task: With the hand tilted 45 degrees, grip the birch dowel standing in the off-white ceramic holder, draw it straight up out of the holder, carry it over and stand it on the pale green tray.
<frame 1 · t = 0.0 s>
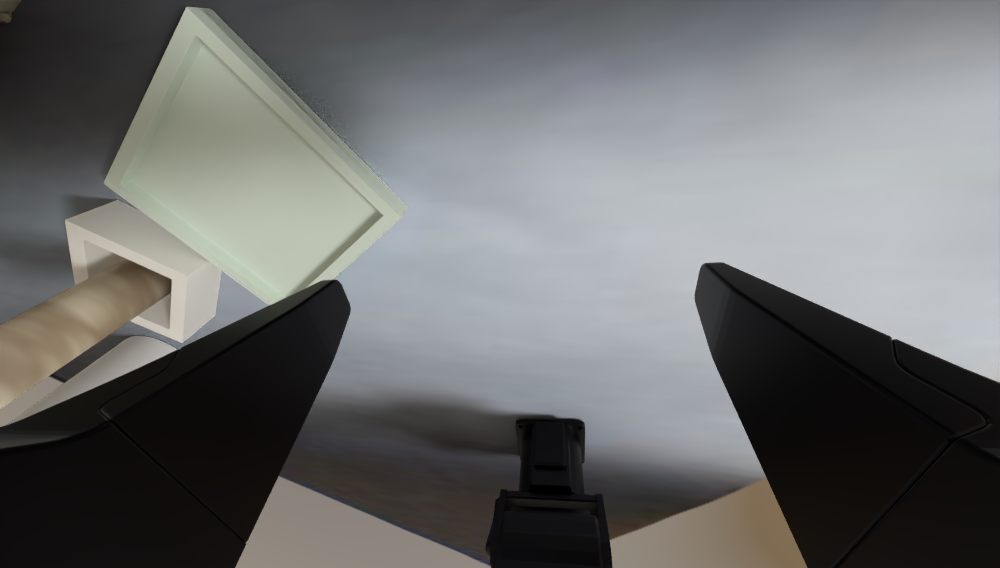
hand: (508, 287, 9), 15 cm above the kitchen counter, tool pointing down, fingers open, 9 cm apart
holder: (171, 263, 29), on the kitchen counter
tray: (265, 191, 25), on the kitchen counter
dowel: (164, 267, 29), point 1 cm above the kitchen counter, touching holder
cylindrical container: (162, 361, 37), on the kitchen counter
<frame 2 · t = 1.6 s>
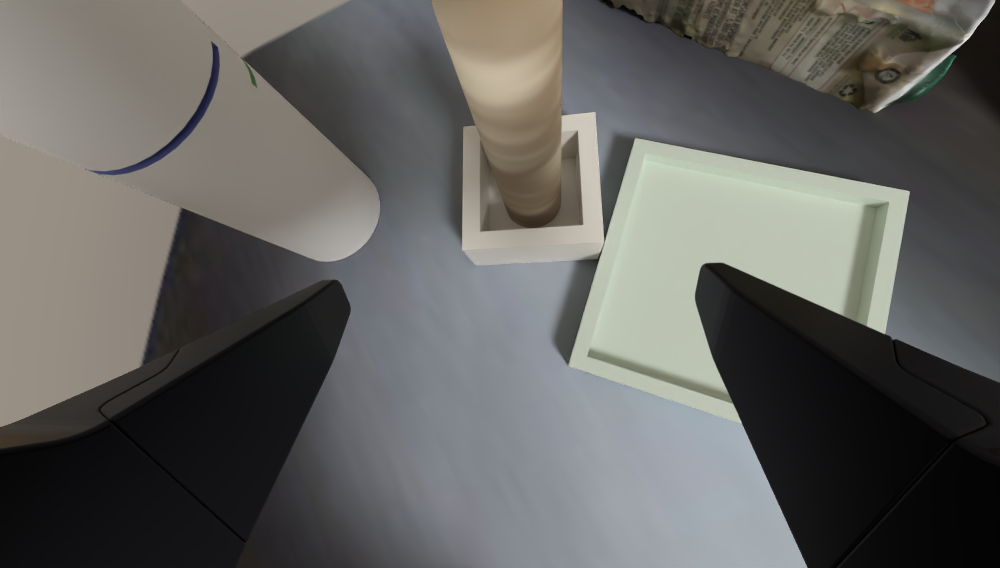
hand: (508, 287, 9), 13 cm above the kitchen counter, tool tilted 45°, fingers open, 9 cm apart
holder: (533, 205, 24), on the kitchen counter
tray: (721, 286, 21), on the kitchen counter
dowel: (532, 201, 23), point 1 cm above the kitchen counter, touching holder
cylindrical container: (334, 214, 26), on the kitchen counter
juice carton: (757, 8, 25), on the kitchen counter
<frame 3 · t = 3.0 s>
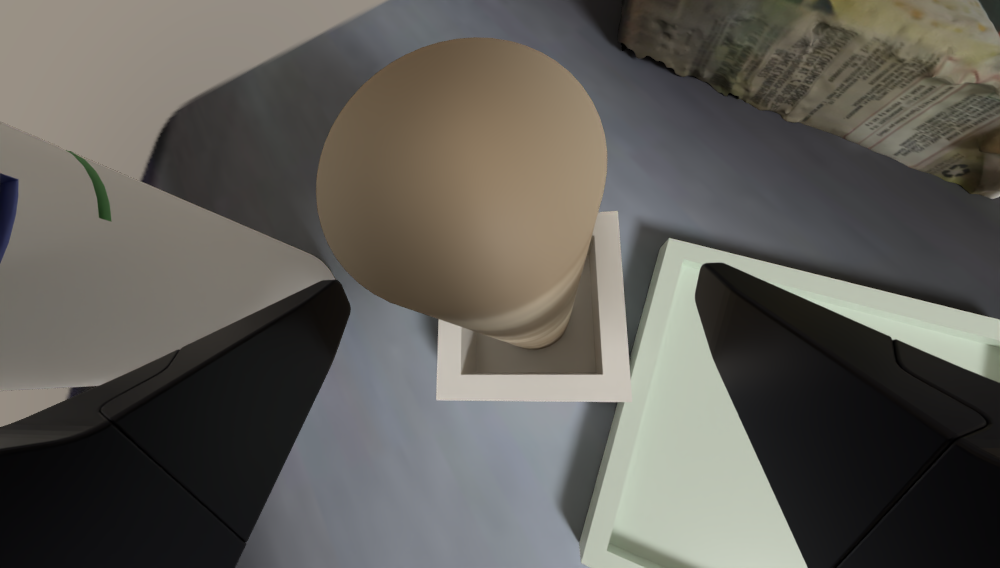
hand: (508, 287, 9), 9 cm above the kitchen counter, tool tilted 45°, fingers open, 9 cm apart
holder: (534, 314, 18), on the kitchen counter
tray: (787, 443, 16), on the kitchen counter
dowel: (533, 313, 18), point 1 cm above the kitchen counter, touching holder
cylindrical container: (284, 311, 21), on the kitchen counter
juice carton: (819, 57, 19), on the kitchen counter
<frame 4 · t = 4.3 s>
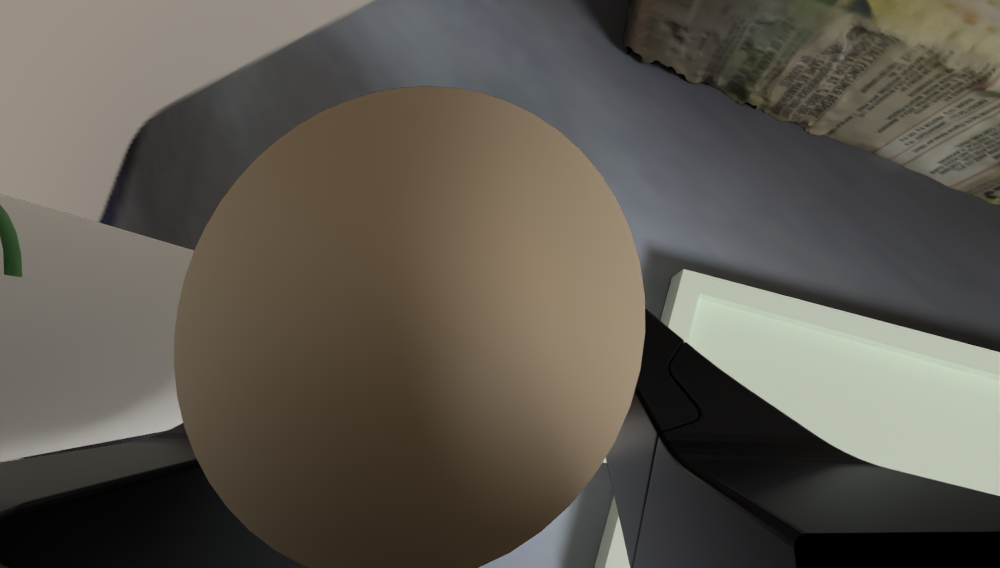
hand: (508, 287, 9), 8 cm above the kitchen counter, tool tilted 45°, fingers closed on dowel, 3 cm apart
tray: (815, 500, 14), on the kitchen counter
dowel: (532, 349, 16), point 1 cm above the kitchen counter, touching gripper, holder
cylindrical container: (261, 341, 19), on the kitchen counter
juice carton: (844, 62, 18), on the kitchen counter
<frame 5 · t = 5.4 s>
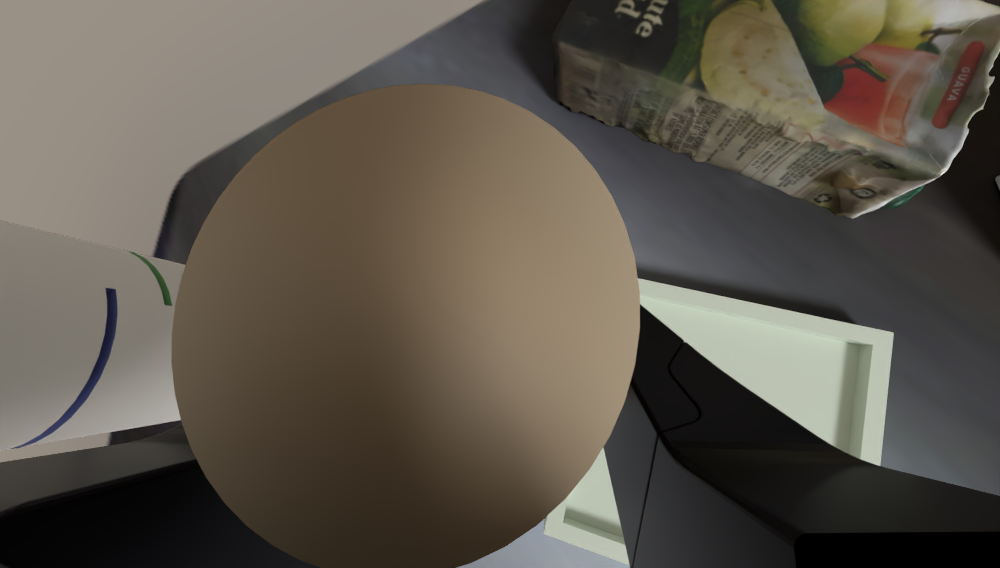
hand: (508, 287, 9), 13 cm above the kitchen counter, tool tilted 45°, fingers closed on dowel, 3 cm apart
tray: (702, 429, 20), on the kitchen counter
dowel: (531, 348, 16), point 6 cm above the kitchen counter, touching gripper
cylindrical container: (292, 345, 25), on the kitchen counter
juice carton: (720, 104, 24), on the kitchen counter
when the fingers open (9 cm above the kitchen counter, at t = 7.2 s): dowel stays where it is, resting on tray.
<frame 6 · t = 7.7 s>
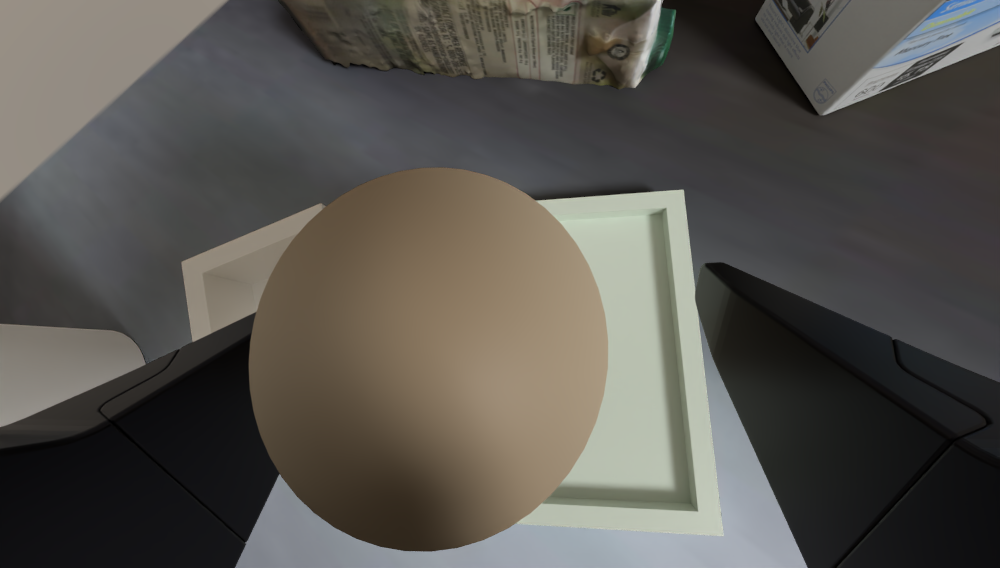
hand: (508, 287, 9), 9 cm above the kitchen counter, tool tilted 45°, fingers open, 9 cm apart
holder: (314, 315, 20), on the kitchen counter
tray: (534, 350, 18), on the kitchen counter
dowel: (533, 349, 17), point 1 cm above the kitchen counter, touching tray
light bulb box: (882, 27, 18), on the kitchen counter
cylindrical container: (98, 391, 21), on the kitchen counter
juice carton: (491, 20, 23), on the kitchen counter
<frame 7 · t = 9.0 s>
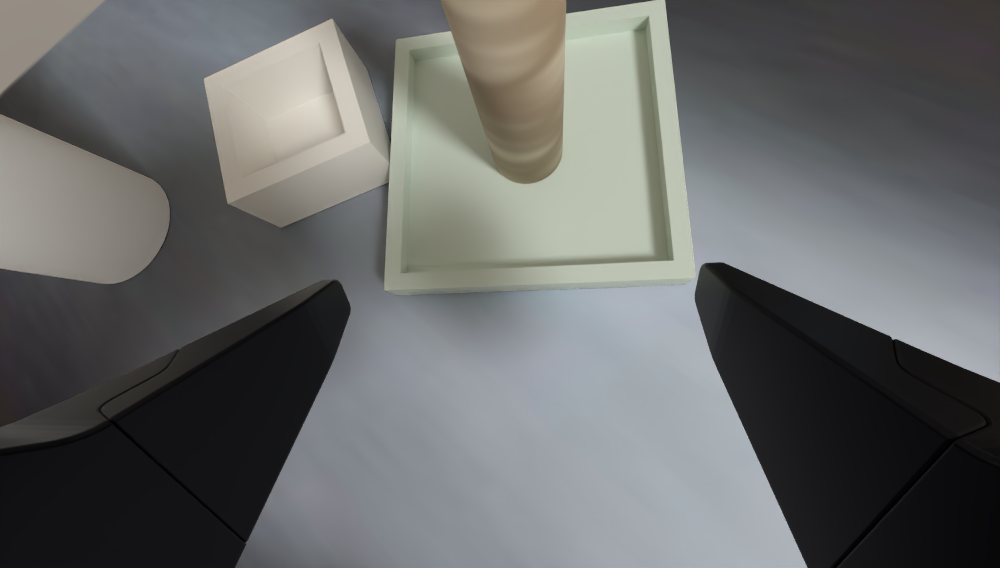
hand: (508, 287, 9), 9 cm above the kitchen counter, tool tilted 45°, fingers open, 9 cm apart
holder: (325, 146, 22), on the kitchen counter
tray: (528, 159, 19), on the kitchen counter
dowel: (527, 151, 19), point 1 cm above the kitchen counter, touching tray
cylindrical container: (124, 228, 23), on the kitchen counter
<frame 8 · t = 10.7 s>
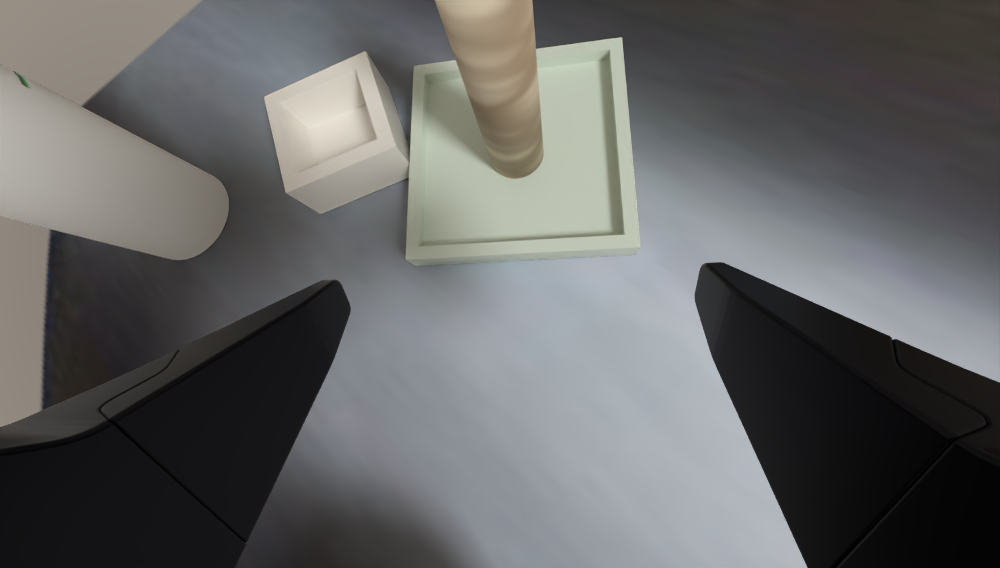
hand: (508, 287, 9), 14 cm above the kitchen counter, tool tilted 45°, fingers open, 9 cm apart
holder: (355, 150, 27), on the kitchen counter
tray: (517, 160, 25), on the kitchen counter
dowel: (516, 153, 24), point 1 cm above the kitchen counter, touching tray
cylindrical container: (190, 216, 28), on the kitchen counter
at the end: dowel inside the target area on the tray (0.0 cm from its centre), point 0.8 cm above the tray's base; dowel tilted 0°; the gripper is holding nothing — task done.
